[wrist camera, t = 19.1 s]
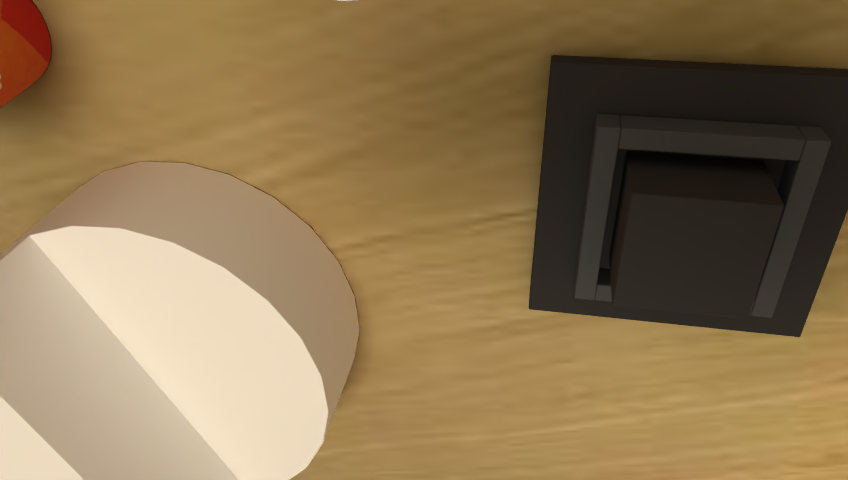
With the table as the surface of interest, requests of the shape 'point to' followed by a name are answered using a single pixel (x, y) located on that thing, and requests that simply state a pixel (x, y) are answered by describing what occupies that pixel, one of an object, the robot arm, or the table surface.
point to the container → (170, 333)
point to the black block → (692, 233)
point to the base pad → (691, 136)
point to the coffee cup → (21, 47)
